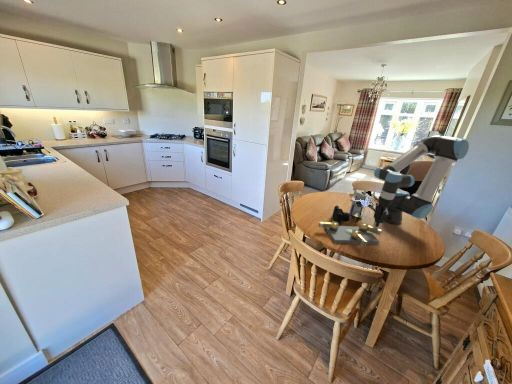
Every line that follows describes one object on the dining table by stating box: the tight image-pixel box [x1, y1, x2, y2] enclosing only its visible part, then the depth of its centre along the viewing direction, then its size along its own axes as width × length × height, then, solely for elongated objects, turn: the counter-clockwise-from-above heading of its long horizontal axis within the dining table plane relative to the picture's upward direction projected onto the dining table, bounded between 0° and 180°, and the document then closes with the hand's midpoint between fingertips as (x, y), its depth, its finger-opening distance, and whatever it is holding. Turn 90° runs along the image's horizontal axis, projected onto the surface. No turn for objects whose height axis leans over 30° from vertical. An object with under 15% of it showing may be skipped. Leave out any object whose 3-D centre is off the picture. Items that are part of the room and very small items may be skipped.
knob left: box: [351, 229, 368, 247], centre depth 124 cm, size 12×5×4 cm, turn 3°
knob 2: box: [358, 222, 383, 236], centre depth 134 cm, size 12×5×4 cm, turn 49°
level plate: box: [324, 225, 380, 245], centre depth 133 cm, size 28×16×3 cm, turn 93°
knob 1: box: [318, 220, 339, 231], centre depth 134 cm, size 12×5×4 cm, turn 93°
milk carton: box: [349, 189, 367, 217], centre depth 157 cm, size 7×7×20 cm
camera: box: [331, 205, 351, 226], centre depth 148 cm, size 14×11×10 cm
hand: (374, 229), depth 135 cm, fingers closed
